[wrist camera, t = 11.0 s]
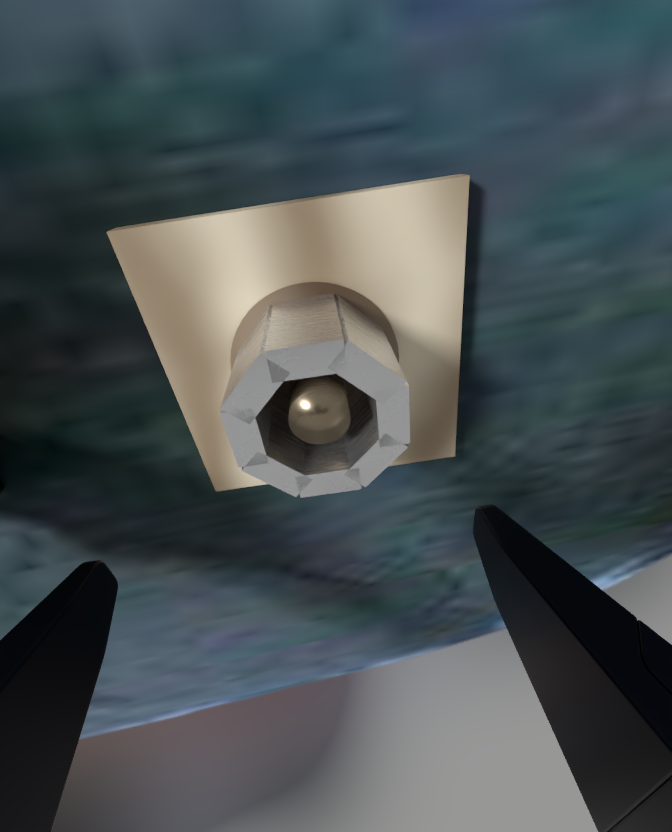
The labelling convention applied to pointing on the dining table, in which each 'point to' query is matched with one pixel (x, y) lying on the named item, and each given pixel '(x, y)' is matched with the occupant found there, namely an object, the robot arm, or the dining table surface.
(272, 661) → the dining table surface
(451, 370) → the birch base board
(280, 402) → the aluminium ring
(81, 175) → the dining table surface
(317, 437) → the bronze post
